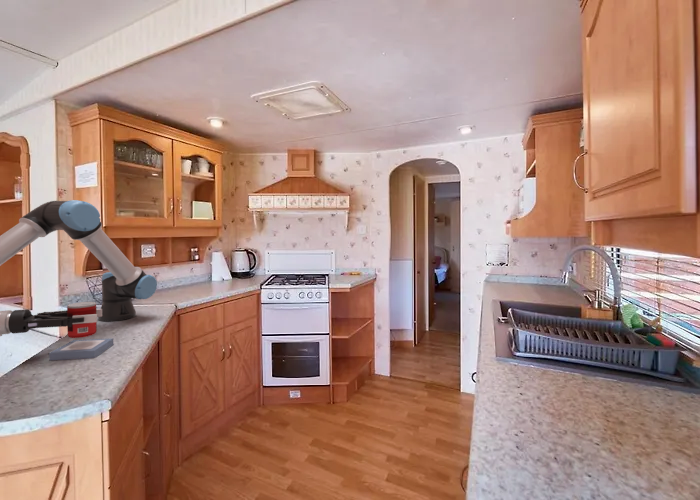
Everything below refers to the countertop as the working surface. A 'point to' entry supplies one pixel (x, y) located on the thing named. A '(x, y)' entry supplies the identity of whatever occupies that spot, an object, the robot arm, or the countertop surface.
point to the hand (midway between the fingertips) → (99, 315)
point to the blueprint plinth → (81, 349)
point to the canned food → (82, 328)
